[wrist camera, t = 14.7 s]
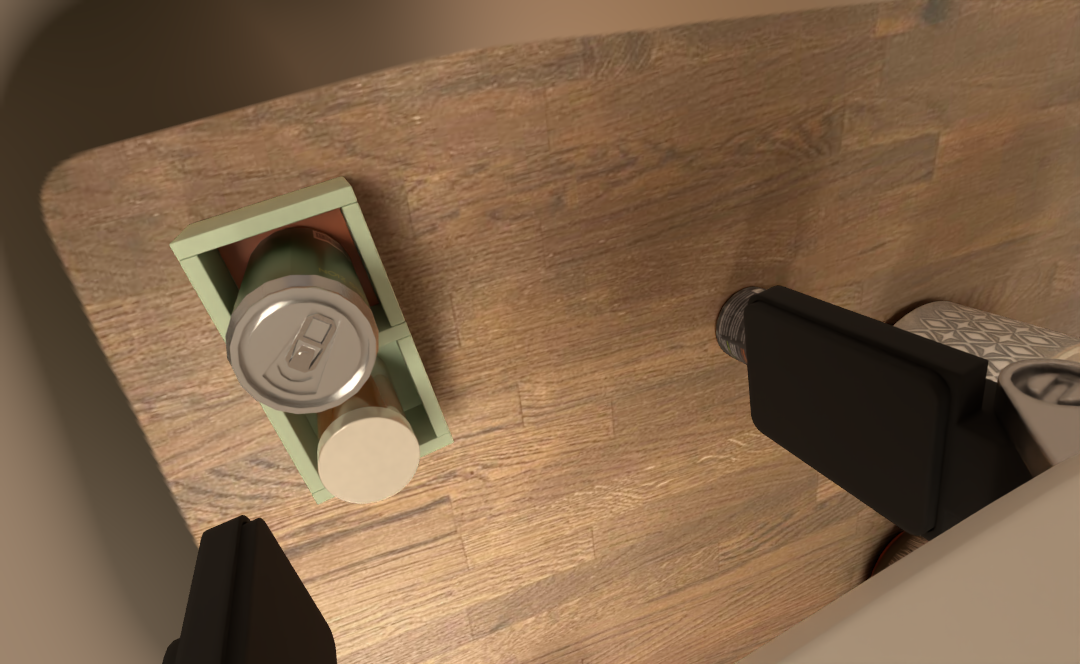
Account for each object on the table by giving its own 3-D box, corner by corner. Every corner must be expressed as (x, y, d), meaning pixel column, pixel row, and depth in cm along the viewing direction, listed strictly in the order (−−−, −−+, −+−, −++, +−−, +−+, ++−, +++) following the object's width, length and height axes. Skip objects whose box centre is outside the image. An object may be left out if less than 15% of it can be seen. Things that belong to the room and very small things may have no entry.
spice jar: (298, 364, 33) (300, 444, 25) (375, 334, 34) (400, 401, 26) (331, 427, 35) (342, 520, 27) (402, 397, 36) (433, 477, 28)
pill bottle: (776, 335, 47) (902, 392, 38) (719, 367, 46) (834, 434, 36) (767, 272, 45) (900, 316, 35) (707, 304, 43) (827, 358, 34)
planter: (955, 407, 62) (1099, 470, 51) (841, 475, 58) (969, 560, 47) (966, 271, 54) (1136, 310, 43) (836, 338, 50) (987, 400, 39)
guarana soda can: (274, 206, 29) (264, 254, 19) (370, 253, 32) (408, 319, 22) (228, 295, 30) (194, 390, 19) (326, 335, 32) (342, 437, 22)
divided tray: (187, 224, 29) (168, 244, 24) (343, 175, 31) (351, 185, 26) (314, 457, 35) (317, 505, 31) (435, 404, 37) (454, 442, 33)
